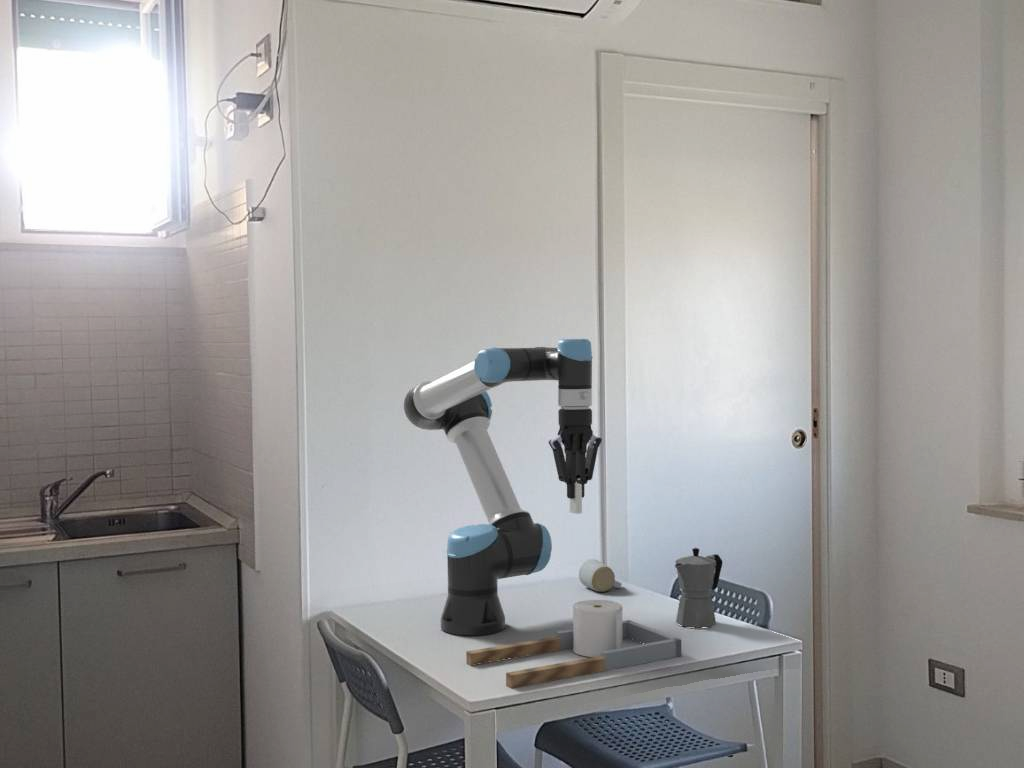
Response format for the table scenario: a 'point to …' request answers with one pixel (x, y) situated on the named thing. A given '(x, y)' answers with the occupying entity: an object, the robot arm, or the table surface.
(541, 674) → the slot lane
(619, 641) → the toilet tissue
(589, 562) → the ceramic mug
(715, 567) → the coffeepot
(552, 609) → the table surface
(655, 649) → the tray
